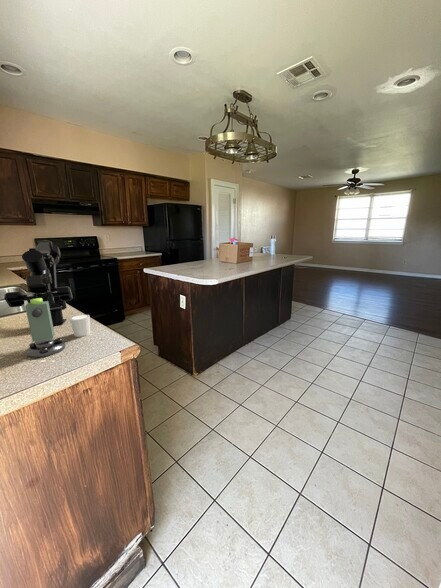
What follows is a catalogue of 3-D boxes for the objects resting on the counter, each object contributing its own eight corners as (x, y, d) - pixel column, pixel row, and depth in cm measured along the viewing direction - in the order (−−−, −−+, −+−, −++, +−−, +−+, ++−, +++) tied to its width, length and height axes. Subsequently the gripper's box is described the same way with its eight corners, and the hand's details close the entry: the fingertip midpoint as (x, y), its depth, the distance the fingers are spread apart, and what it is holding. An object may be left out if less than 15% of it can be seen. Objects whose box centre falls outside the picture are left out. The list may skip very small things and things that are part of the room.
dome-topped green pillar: (35, 341, 84) (26, 299, 81) (55, 338, 86) (47, 296, 83) (32, 348, 79) (22, 303, 75) (53, 344, 81) (44, 300, 78)
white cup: (68, 335, 96) (65, 318, 94) (85, 329, 102) (82, 313, 100) (79, 338, 93) (76, 321, 91) (96, 332, 99) (93, 315, 97)
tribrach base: (29, 347, 86) (28, 339, 86) (66, 340, 91) (65, 333, 90) (22, 361, 77) (20, 352, 76) (64, 353, 82) (62, 344, 81)
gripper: (-1, 268, 80) (-4, 309, 73) (66, 264, 88) (69, 300, 81) (11, 288, 89) (9, 326, 82) (71, 282, 97) (74, 316, 90)
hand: (41, 317), depth 83 cm, fingers closed, pressing on dome-topped green pillar
